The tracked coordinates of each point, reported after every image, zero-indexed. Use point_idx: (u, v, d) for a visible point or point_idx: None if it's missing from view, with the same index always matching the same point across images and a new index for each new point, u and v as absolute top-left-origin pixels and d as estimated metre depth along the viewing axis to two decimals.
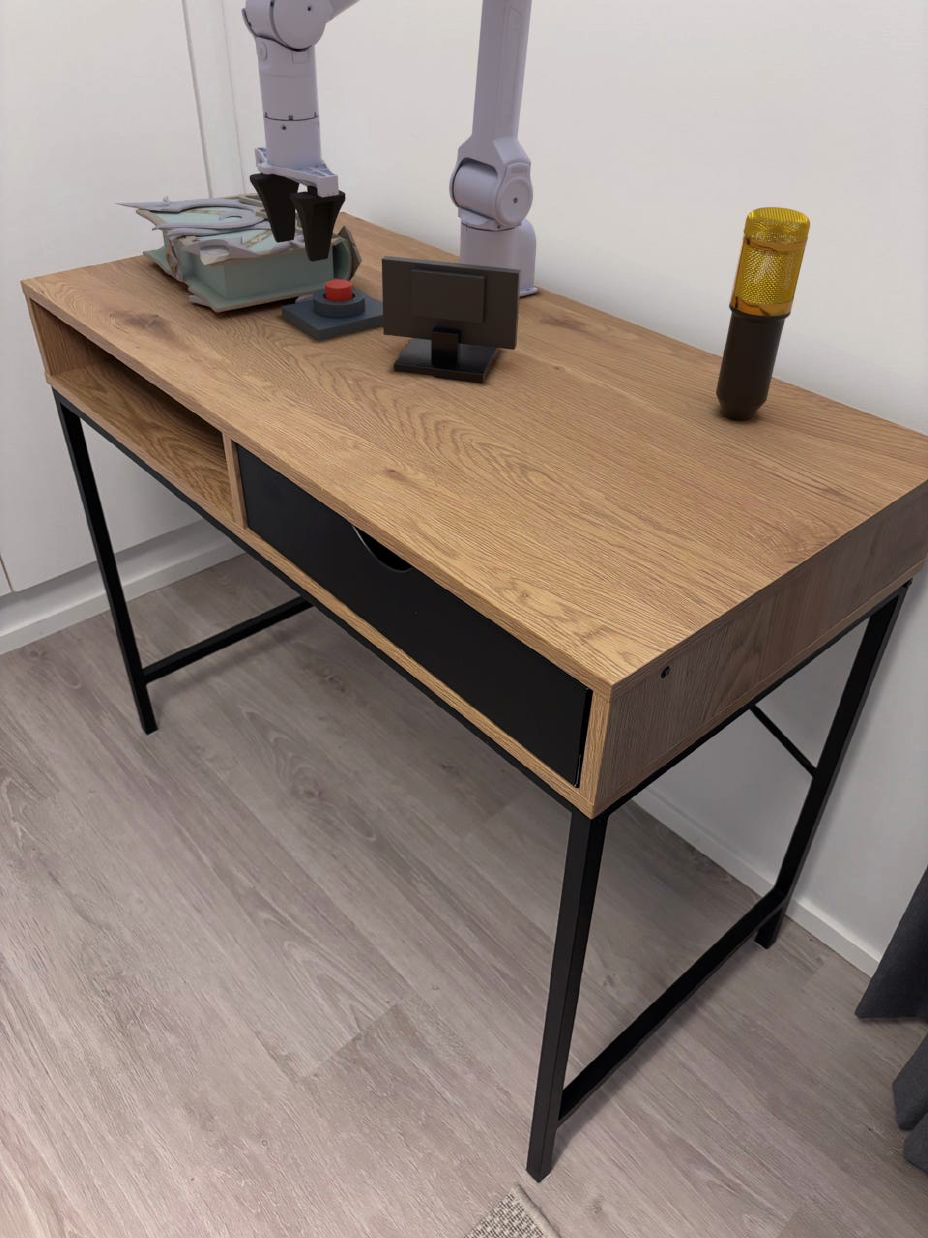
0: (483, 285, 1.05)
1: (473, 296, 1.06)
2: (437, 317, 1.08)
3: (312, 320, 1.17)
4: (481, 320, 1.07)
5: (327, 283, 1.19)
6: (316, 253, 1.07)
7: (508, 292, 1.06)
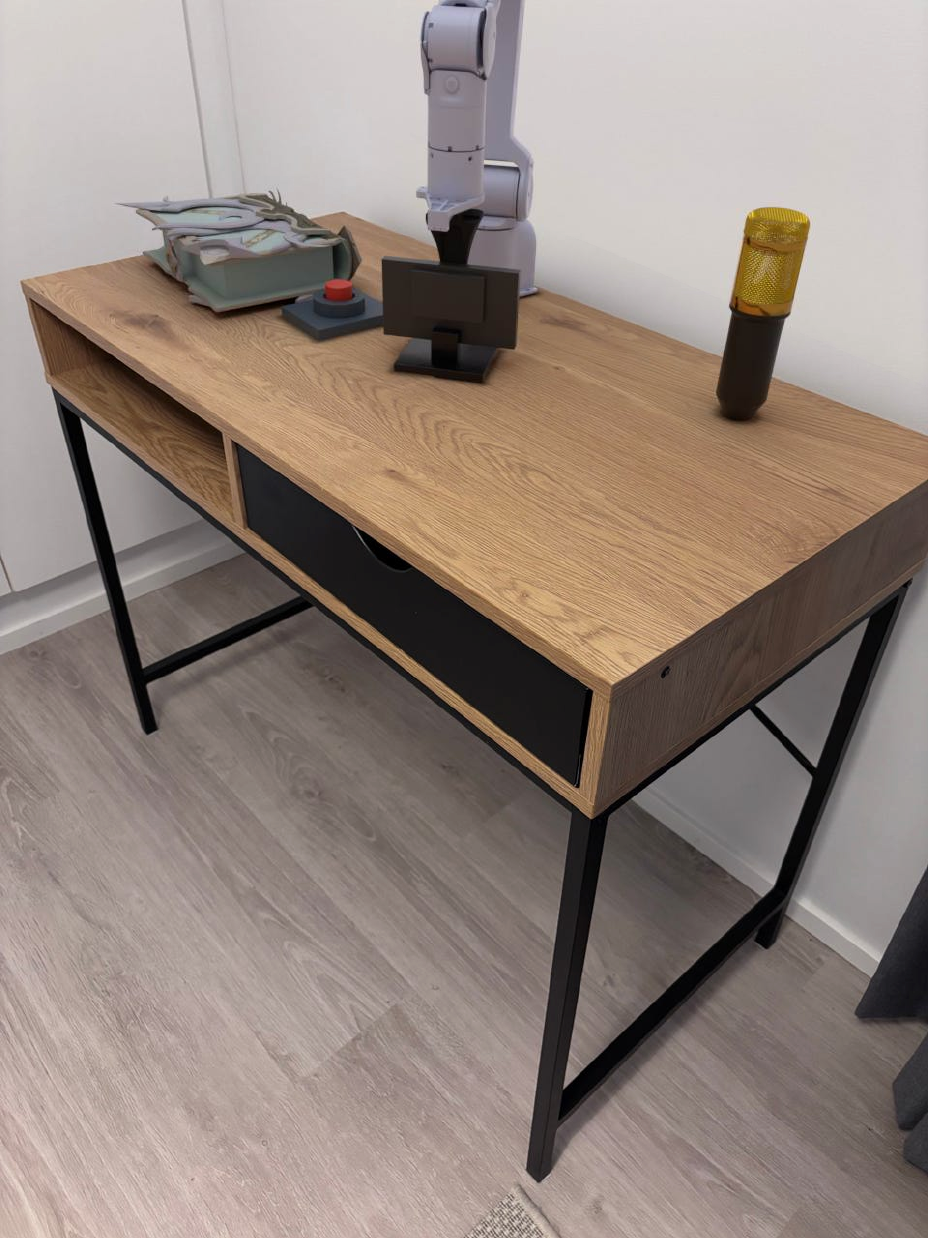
0: (483, 285, 1.05)
1: (473, 296, 1.06)
2: (437, 317, 1.08)
3: (312, 320, 1.17)
4: (481, 320, 1.07)
5: (327, 283, 1.19)
6: None
7: (508, 292, 1.06)
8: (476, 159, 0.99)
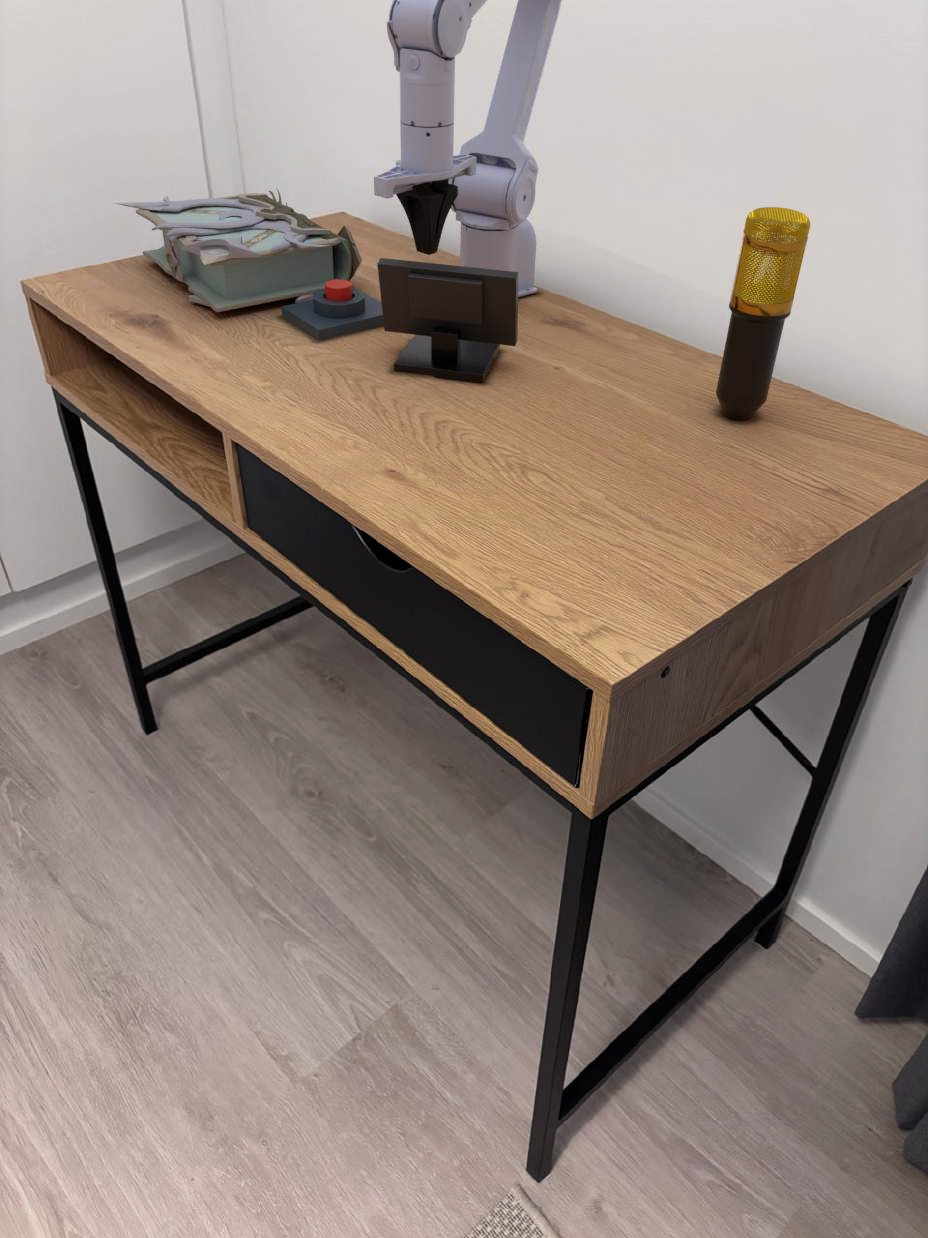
0: (480, 290, 1.04)
1: (471, 300, 1.05)
2: (436, 318, 1.08)
3: (312, 320, 1.17)
4: (480, 322, 1.07)
5: (327, 283, 1.19)
6: (419, 245, 1.14)
7: (506, 295, 1.05)
8: (435, 135, 1.05)
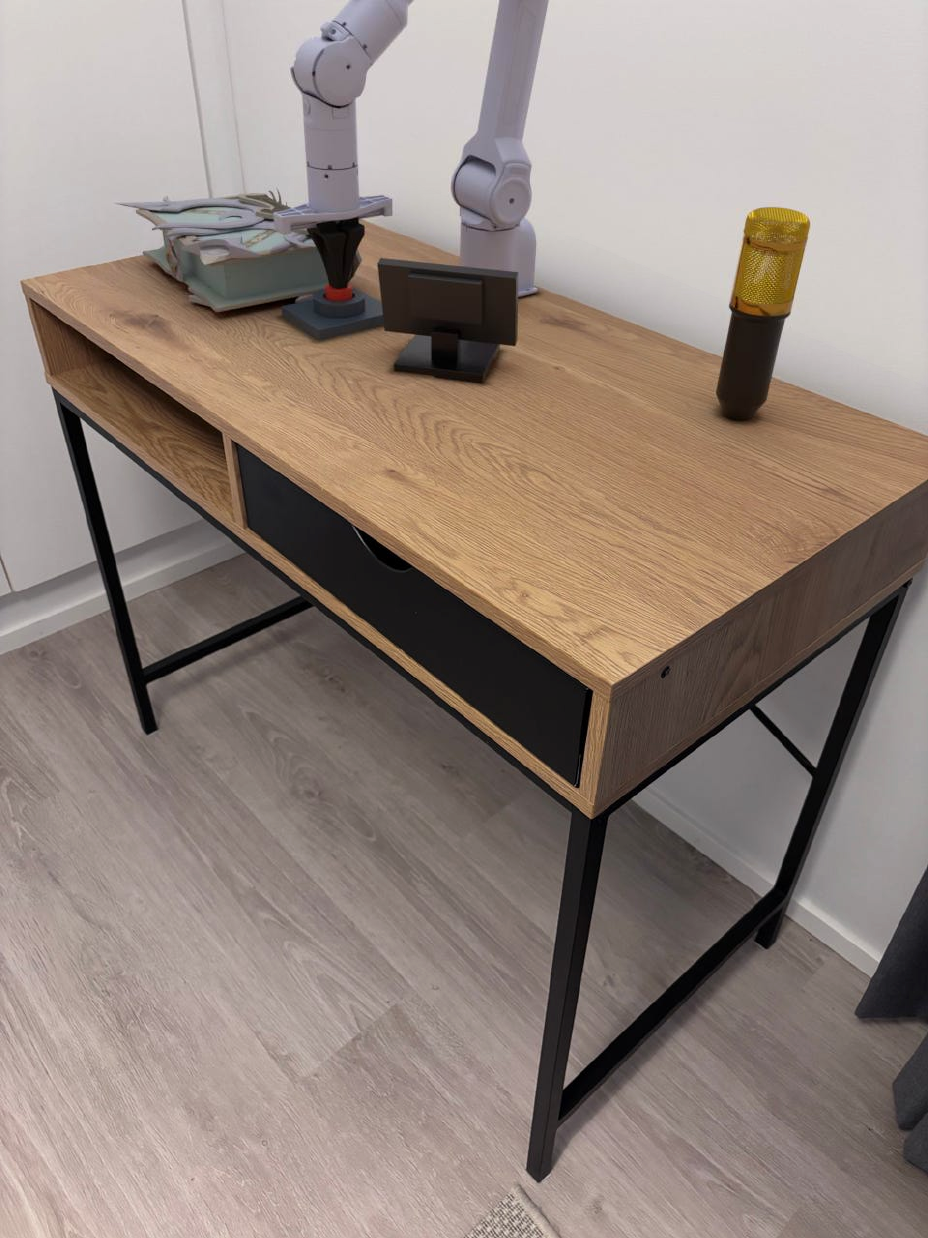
0: (480, 290, 1.04)
1: (471, 300, 1.05)
2: (436, 318, 1.08)
3: (312, 320, 1.17)
4: (480, 322, 1.07)
5: (327, 285, 1.19)
6: (330, 279, 1.18)
7: (506, 295, 1.05)
8: (333, 178, 1.09)
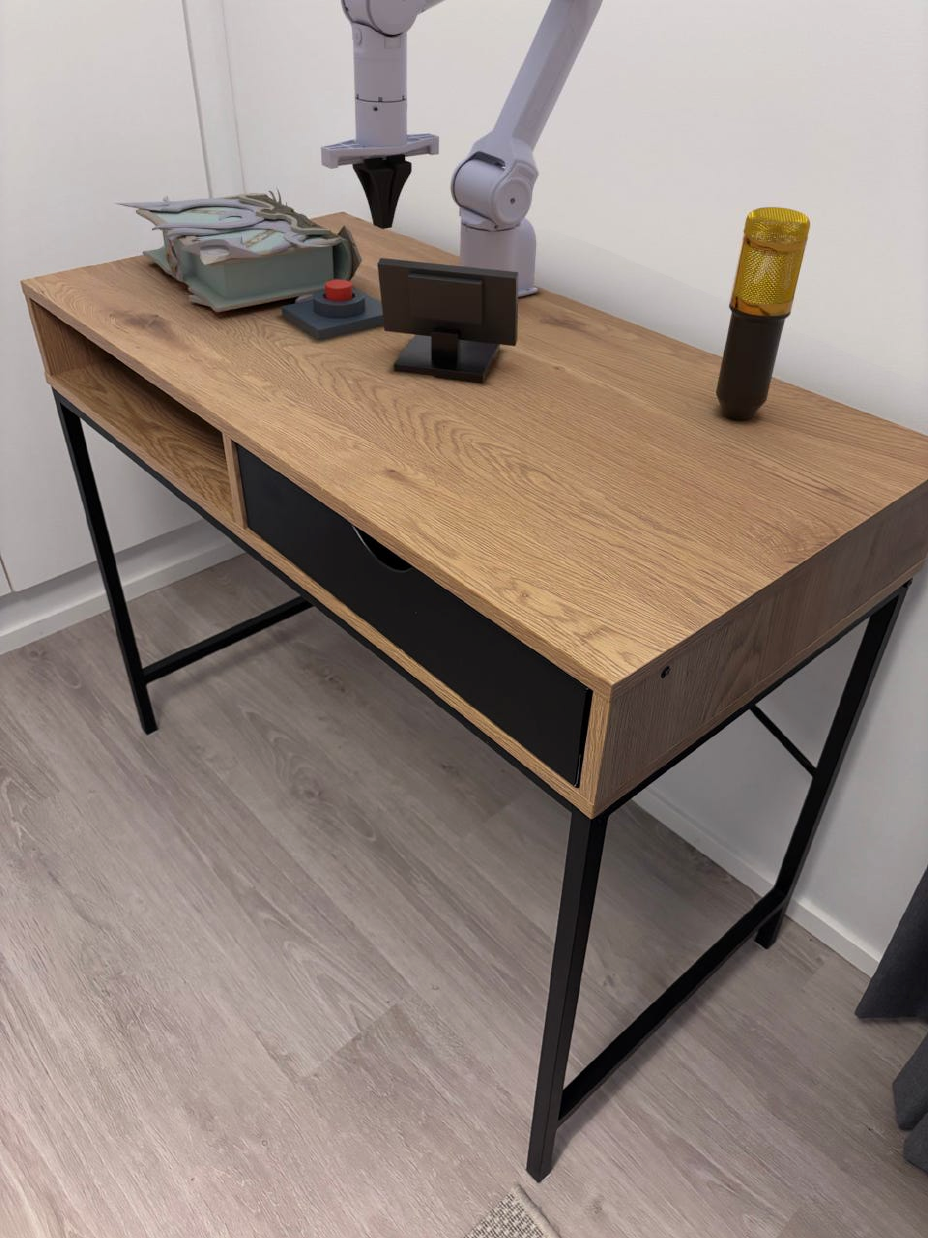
0: (480, 290, 1.04)
1: (471, 300, 1.05)
2: (436, 318, 1.08)
3: (312, 320, 1.17)
4: (480, 322, 1.07)
5: (327, 283, 1.19)
6: (375, 218, 1.17)
7: (506, 295, 1.05)
8: (382, 110, 1.07)
